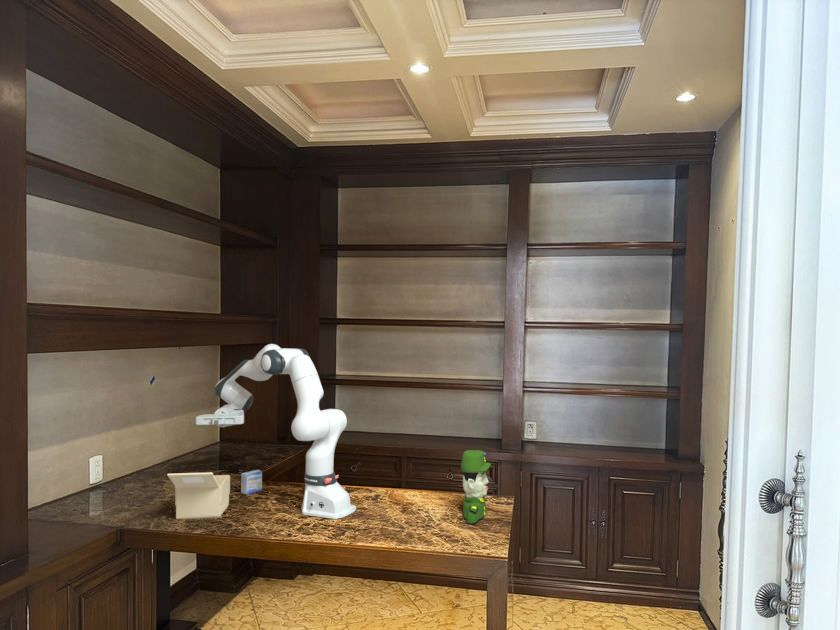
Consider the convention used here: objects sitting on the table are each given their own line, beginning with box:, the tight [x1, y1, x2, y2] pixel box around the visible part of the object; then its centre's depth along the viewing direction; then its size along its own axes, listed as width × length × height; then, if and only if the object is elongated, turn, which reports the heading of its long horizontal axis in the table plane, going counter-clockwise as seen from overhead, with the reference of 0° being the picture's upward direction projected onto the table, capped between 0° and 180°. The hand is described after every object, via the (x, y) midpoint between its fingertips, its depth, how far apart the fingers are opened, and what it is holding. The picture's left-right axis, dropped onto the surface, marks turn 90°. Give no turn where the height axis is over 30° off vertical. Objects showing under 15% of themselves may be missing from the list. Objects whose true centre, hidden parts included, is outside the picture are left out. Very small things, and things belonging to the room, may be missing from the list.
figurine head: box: [460, 449, 492, 525], centre depth 205 cm, size 22×12×25 cm, turn 167°
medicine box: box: [240, 469, 263, 495], centre depth 231 cm, size 8×4×9 cm, turn 143°
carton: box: [174, 474, 231, 520], centre depth 207 cm, size 14×17×12 cm
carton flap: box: [167, 471, 219, 488], centre depth 194 cm, size 13×15×1 cm
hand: (216, 422), depth 224 cm, fingers closed
